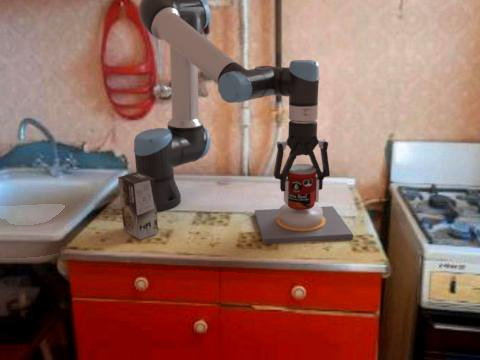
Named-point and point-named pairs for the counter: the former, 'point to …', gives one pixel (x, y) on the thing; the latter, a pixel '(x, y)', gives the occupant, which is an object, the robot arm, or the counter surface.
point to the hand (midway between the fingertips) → (300, 201)
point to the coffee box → (138, 205)
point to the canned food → (301, 186)
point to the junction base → (292, 236)
